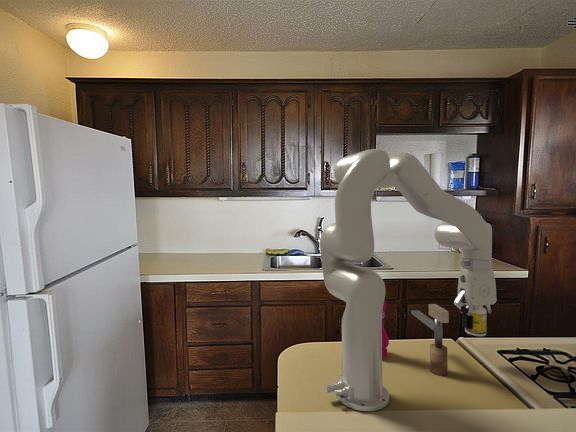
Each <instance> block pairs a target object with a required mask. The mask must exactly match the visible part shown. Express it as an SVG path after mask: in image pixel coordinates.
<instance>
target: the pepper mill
mask: <svg viewBox="0 0 576 432" xmlns="http://www.w3.org/2000/svg"><path fill="white" fill-rule="evenodd" d="M385 310H387V302H386V300H385V299H384V304H383V310H382V360H383V359H385V358H387V357H388V346H389V344H390V340H389V339H390V338H389V336H388V334H387V331H386V328H385V327H384V326H385V325H384V319H385V317H386V313H385Z"/></svg>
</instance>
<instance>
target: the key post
mask: <svg viewBox="0 0 576 432" xmlns="http://www.w3.org/2000/svg"><path fill="white" fill-rule="evenodd" d="M448 363H449V362H448V347H447V346H446V345H444V344H443V347H436V346H435V343H430V345H429V367H430V368H429V370H430V373H431V374H434V375H435V376H439V377H445V376H447V375H448V373H449V371H448V369H449V368H448V366H449V365H448Z"/></svg>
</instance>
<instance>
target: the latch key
mask: <svg viewBox="0 0 576 432" xmlns="http://www.w3.org/2000/svg"><path fill="white" fill-rule="evenodd" d="M449 312H450V311H448V310H446V309H445V308H444V307H441V306H440V305H438V304H437V303H429V304H428V315H429V316H430V317H431V318H433V319H434V320H433V319H431V318H430V317H428V316H427V315H426V314H424V313H423V312H421V311H420V310H418V309H417V310H414V309H413V310H412V309H411V310H410V314H411V315H412V316H413V317H414V318H417V319H418V320H419V321H421V323H422V324H424V325H425V326H427V327H428V328H429V329H431V330H432V331H434V344H435V346H436V347H443V345H444V343H443V330H444V329H443V324H448V323H449V322H450V318H449V317H450V314H449Z"/></svg>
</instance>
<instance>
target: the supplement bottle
mask: <svg viewBox="0 0 576 432" xmlns="http://www.w3.org/2000/svg"><path fill="white" fill-rule="evenodd" d="M466 308H467V309H468V306H467V305H466ZM471 315H472V316H473V329H471V330H470V329H468V328H465V327H464V331H465V333H466V334H469V335H472V336H475V337H485V336H486V335H487V327H486V323H487V311H486V309H485V308H484V307H483V306H473V309H472V313H471Z"/></svg>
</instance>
